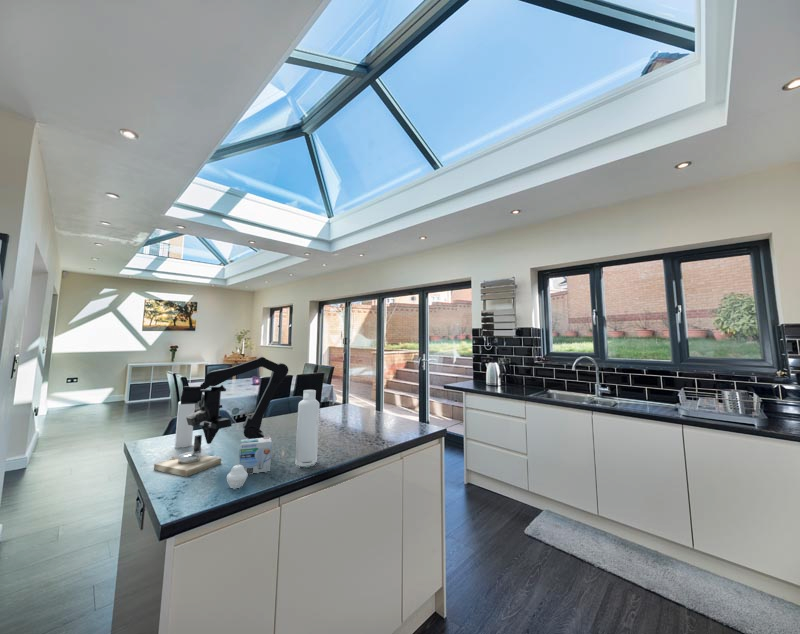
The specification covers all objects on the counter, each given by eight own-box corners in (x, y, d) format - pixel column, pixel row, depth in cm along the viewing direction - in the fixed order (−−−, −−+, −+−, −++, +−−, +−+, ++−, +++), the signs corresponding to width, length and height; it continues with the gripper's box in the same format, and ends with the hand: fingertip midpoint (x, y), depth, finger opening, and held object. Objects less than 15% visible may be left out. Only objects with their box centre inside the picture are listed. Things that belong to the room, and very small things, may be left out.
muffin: (244, 490, 102) (245, 467, 102) (222, 492, 101) (224, 468, 101) (249, 482, 108) (250, 460, 108) (229, 483, 107) (230, 461, 107)
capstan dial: (195, 463, 118) (196, 443, 119) (173, 464, 117) (175, 443, 117) (207, 452, 129) (209, 434, 130) (188, 453, 128) (189, 435, 129)
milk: (175, 448, 141) (179, 396, 142) (174, 445, 145) (178, 394, 147) (192, 446, 144) (195, 395, 146) (190, 442, 149) (194, 393, 151)
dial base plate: (220, 463, 125) (221, 457, 125) (186, 476, 111) (186, 470, 112) (189, 457, 130) (189, 452, 130) (152, 469, 117) (153, 463, 117)
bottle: (321, 462, 128) (324, 390, 131) (307, 469, 121) (310, 392, 123) (305, 459, 131) (308, 388, 134) (290, 465, 124) (294, 390, 127)
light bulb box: (238, 476, 113) (240, 444, 114) (237, 469, 119) (239, 439, 120) (271, 471, 118) (272, 441, 119) (269, 465, 123) (270, 436, 124)
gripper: (177, 403, 126) (173, 444, 125) (205, 408, 117) (201, 453, 116) (205, 399, 136) (203, 438, 134) (233, 404, 127) (231, 445, 125)
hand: (208, 443), depth 127 cm, fingers closed
